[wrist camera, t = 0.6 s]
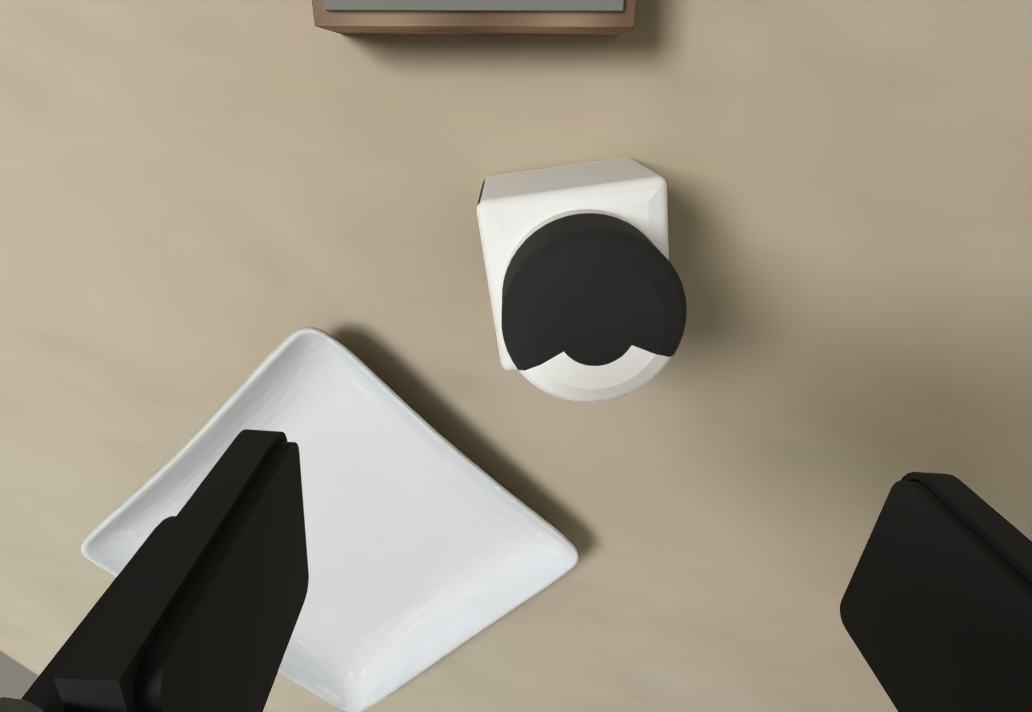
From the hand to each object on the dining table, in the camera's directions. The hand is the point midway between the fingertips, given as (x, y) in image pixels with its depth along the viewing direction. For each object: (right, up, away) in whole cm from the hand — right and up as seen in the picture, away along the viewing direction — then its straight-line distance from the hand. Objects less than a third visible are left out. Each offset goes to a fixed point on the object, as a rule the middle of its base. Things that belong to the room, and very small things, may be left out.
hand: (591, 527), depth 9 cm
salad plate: (-12, -8, +28) cm, 31 cm away
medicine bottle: (+1, +9, +20) cm, 22 cm away
